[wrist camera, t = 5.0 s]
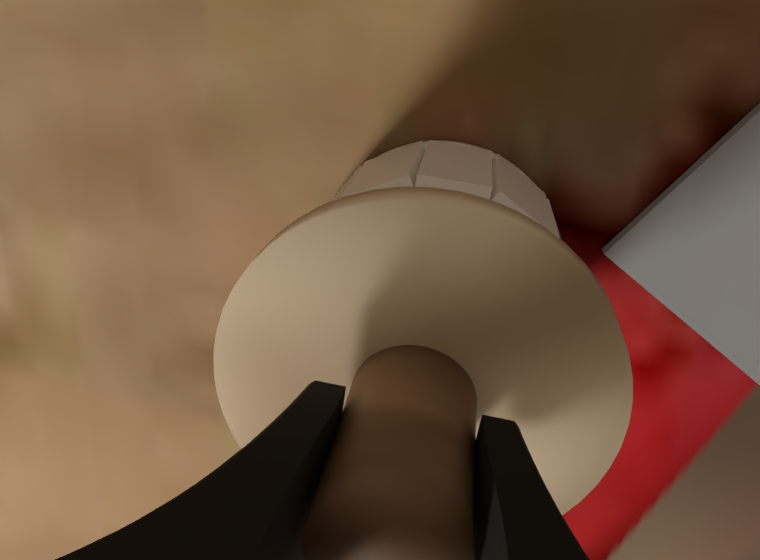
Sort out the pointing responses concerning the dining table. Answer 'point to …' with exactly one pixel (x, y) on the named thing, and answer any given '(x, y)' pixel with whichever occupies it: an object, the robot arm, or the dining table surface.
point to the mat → (706, 246)
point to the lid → (424, 361)
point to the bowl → (454, 176)
